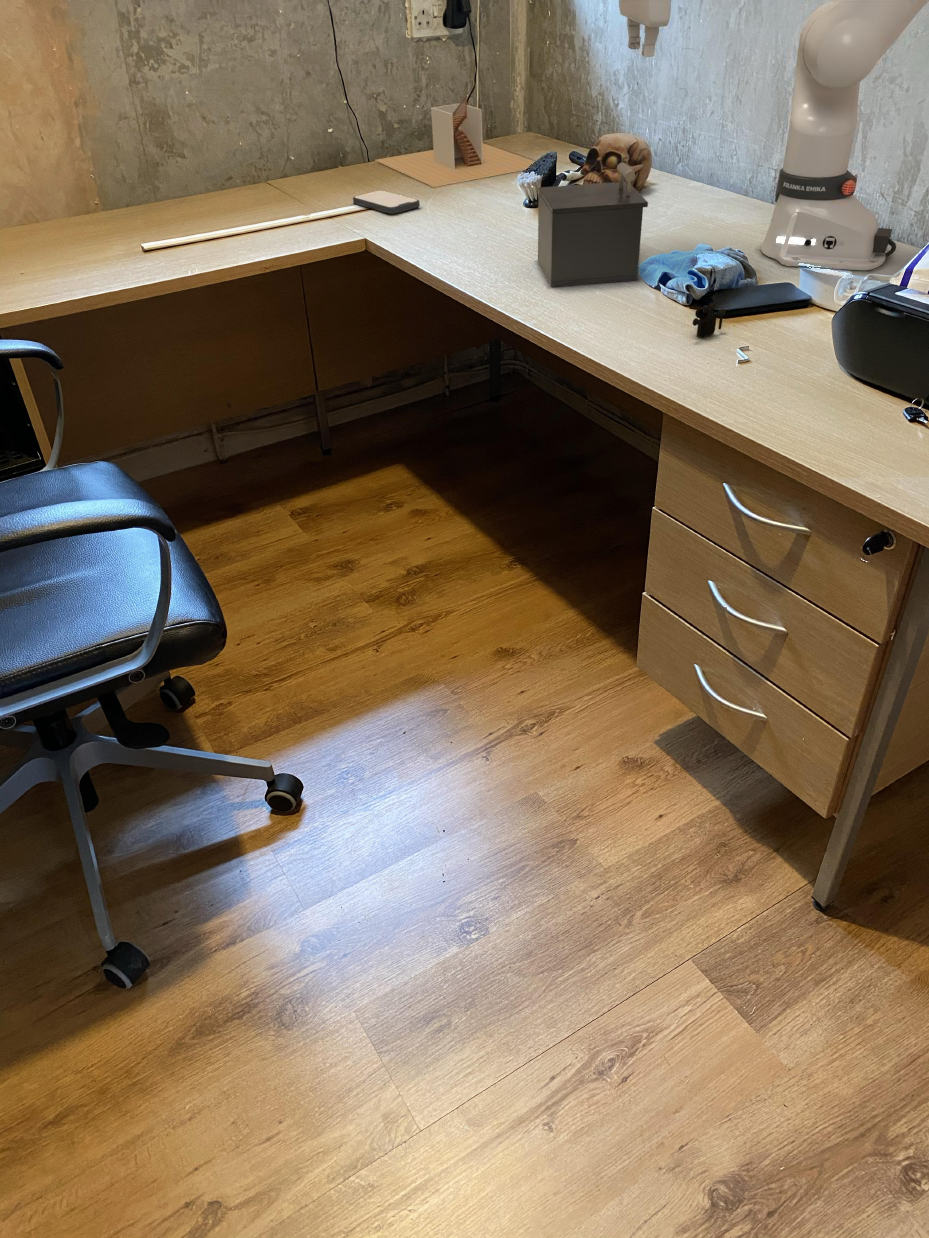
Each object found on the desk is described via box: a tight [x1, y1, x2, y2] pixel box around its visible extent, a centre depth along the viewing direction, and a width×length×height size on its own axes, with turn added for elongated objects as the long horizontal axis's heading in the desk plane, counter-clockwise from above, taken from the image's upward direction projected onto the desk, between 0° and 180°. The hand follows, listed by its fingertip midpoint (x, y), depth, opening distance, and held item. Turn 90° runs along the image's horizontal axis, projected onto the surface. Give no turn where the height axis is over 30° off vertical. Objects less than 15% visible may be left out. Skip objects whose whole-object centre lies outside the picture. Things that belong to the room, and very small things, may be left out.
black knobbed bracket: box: [691, 302, 726, 339], centre depth 141 cm, size 7×2×5 cm, turn 125°
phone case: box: [352, 190, 421, 215], centre depth 208 cm, size 9×2×16 cm
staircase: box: [430, 92, 485, 170], centre depth 232 cm, size 9×11×17 cm
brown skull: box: [579, 132, 653, 192], centre depth 204 cm, size 16×17×13 cm
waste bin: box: [537, 192, 644, 288], centre depth 164 cm, size 16×14×12 cm
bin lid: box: [538, 163, 649, 214], centre depth 159 cm, size 17×14×5 cm
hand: (640, 53), depth 155 cm, fingers open, 8 cm apart
